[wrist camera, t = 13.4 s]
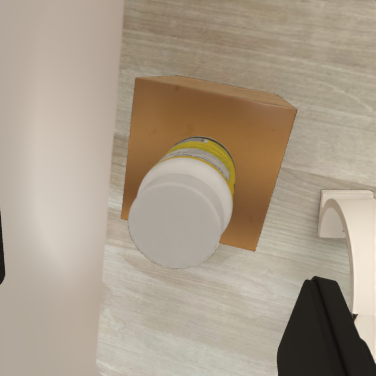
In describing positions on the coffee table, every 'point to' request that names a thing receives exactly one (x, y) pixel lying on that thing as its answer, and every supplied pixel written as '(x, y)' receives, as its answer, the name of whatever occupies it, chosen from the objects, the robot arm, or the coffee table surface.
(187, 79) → the block
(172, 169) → the supplement bottle
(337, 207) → the headphone stand
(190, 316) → the coffee table surface
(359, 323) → the plate
